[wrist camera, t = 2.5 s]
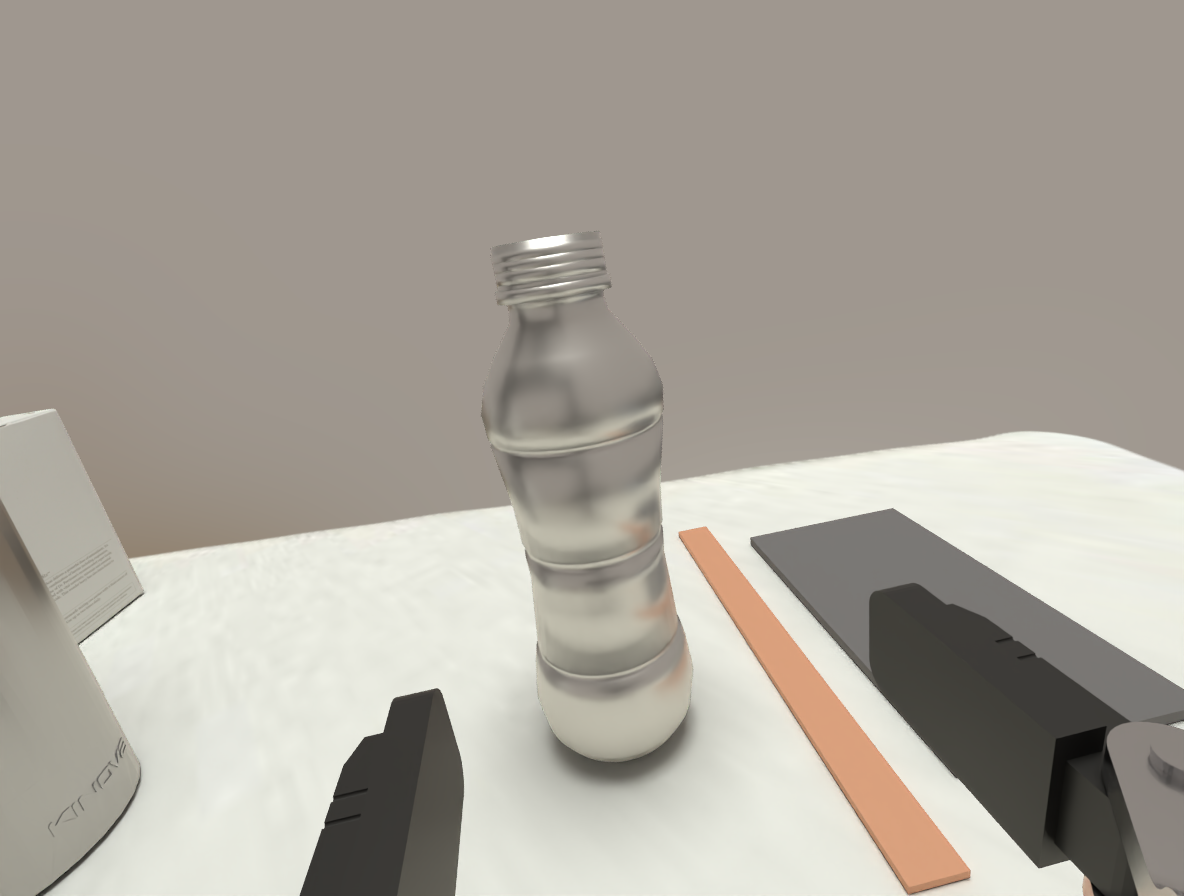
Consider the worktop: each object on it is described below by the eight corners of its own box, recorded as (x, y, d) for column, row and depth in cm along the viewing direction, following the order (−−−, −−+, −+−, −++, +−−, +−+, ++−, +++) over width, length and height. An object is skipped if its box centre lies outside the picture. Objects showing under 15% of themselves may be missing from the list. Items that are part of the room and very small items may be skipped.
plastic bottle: (520, 722, 26) (410, 261, 19) (632, 648, 29) (572, 239, 23) (608, 821, 20) (500, 239, 14) (731, 717, 24) (689, 216, 18)
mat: (956, 777, 20) (957, 767, 20) (750, 544, 37) (750, 537, 37) (1204, 714, 21) (1207, 704, 21) (892, 515, 38) (892, 508, 38)
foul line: (908, 894, 17) (908, 887, 17) (678, 535, 40) (678, 532, 39) (969, 877, 17) (970, 870, 17) (706, 530, 40) (706, 526, 40)
